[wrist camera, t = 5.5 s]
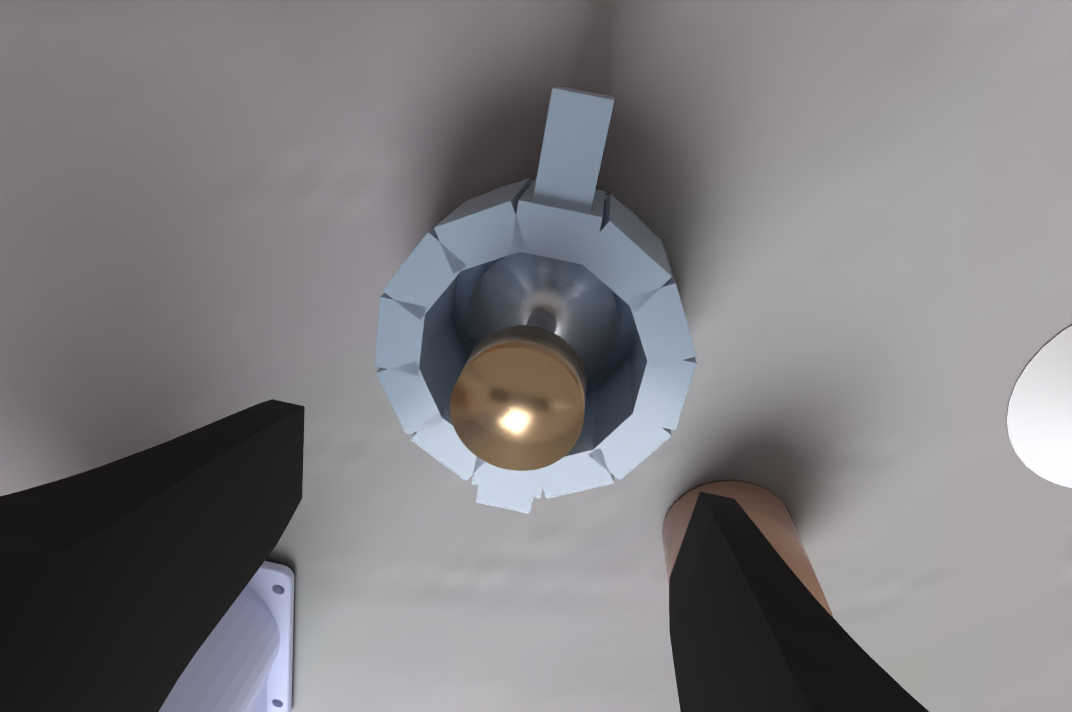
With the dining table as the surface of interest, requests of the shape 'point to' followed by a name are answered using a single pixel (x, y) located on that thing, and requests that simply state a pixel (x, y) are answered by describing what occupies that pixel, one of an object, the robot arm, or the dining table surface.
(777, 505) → the tan rounded cylinder
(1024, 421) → the champagne flute
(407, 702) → the dining table surface
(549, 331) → the plunger
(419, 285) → the press pot
